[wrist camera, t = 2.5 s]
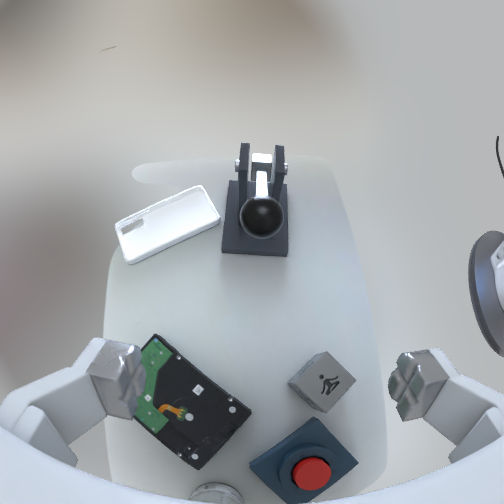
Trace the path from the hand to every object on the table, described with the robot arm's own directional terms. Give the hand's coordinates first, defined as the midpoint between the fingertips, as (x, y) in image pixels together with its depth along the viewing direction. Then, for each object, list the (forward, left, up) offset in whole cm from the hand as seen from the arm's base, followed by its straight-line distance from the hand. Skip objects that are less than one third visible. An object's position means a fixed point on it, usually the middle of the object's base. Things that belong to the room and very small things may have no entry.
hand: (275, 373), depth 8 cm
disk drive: (+9, -2, -27) cm, 28 cm away
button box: (+2, +14, -26) cm, 30 cm away
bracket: (-14, -17, -26) cm, 35 cm away
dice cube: (-6, +6, -27) cm, 28 cm away
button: (+2, +14, -23) cm, 27 cm away
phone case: (-3, -24, -27) cm, 36 cm away
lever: (-11, -13, -15) cm, 22 cm away
